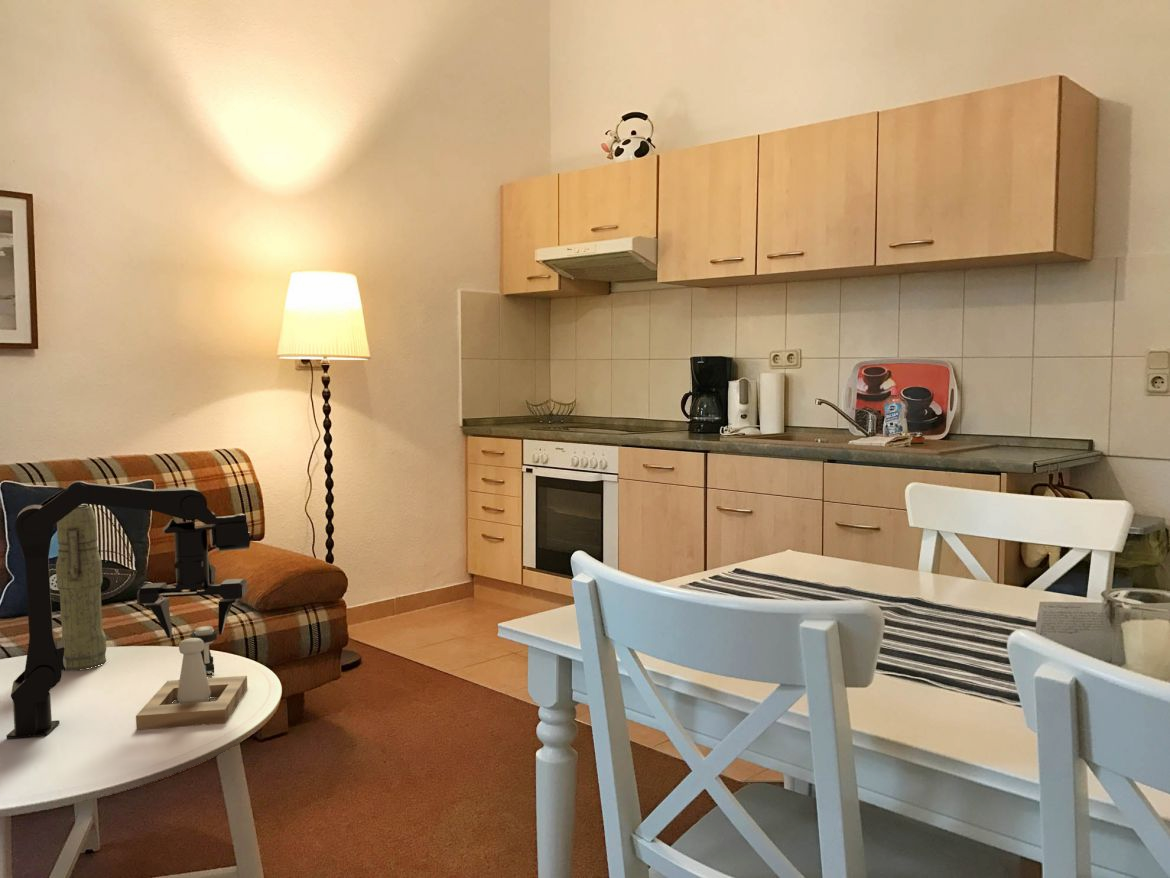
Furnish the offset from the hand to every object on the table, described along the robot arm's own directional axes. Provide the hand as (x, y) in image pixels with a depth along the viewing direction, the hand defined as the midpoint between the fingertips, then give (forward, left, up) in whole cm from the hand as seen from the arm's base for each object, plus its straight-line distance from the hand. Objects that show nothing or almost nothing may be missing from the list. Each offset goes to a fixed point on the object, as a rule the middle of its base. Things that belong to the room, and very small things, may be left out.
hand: (195, 635), depth 179 cm
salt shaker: (-2, 0, -13) cm, 13 cm away
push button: (+18, +3, -13) cm, 22 cm away
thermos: (+33, +32, -13) cm, 47 cm away
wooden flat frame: (-2, 0, -13) cm, 13 cm away
